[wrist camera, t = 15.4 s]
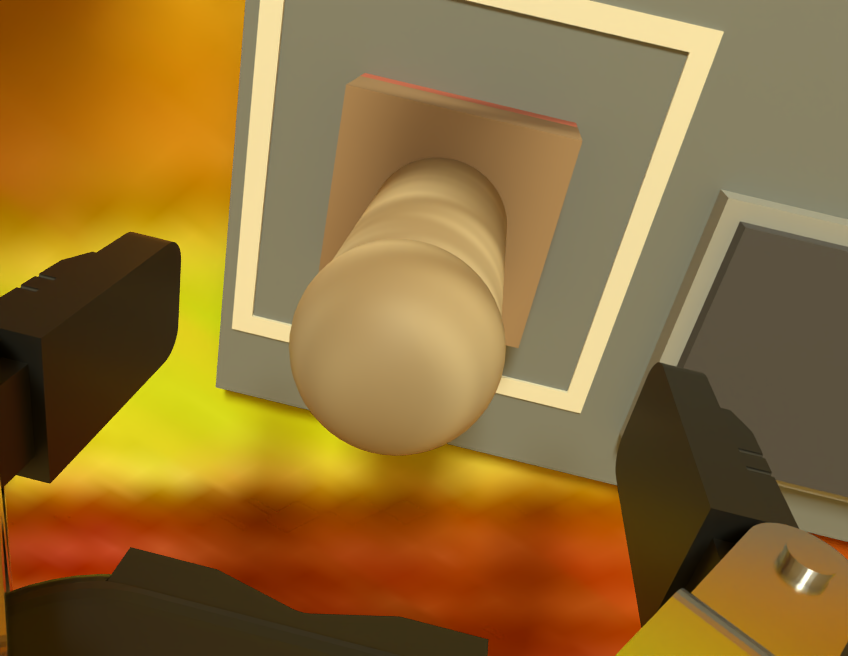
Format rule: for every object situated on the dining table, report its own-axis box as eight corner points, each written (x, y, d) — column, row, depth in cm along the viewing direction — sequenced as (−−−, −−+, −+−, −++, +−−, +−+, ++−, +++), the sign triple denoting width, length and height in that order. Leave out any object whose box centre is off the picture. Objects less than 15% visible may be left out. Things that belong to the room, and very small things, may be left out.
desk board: (1435, -166, 14) (1572, -188, 12) (918, 544, 24) (952, 593, 22) (291, -423, 15) (258, -480, 13) (224, 374, 24) (199, 408, 22)
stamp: (576, 123, 18) (632, 276, 9) (518, 313, 21) (516, 585, 11) (365, 72, 18) (202, 174, 9) (333, 268, 21) (184, 502, 12)
